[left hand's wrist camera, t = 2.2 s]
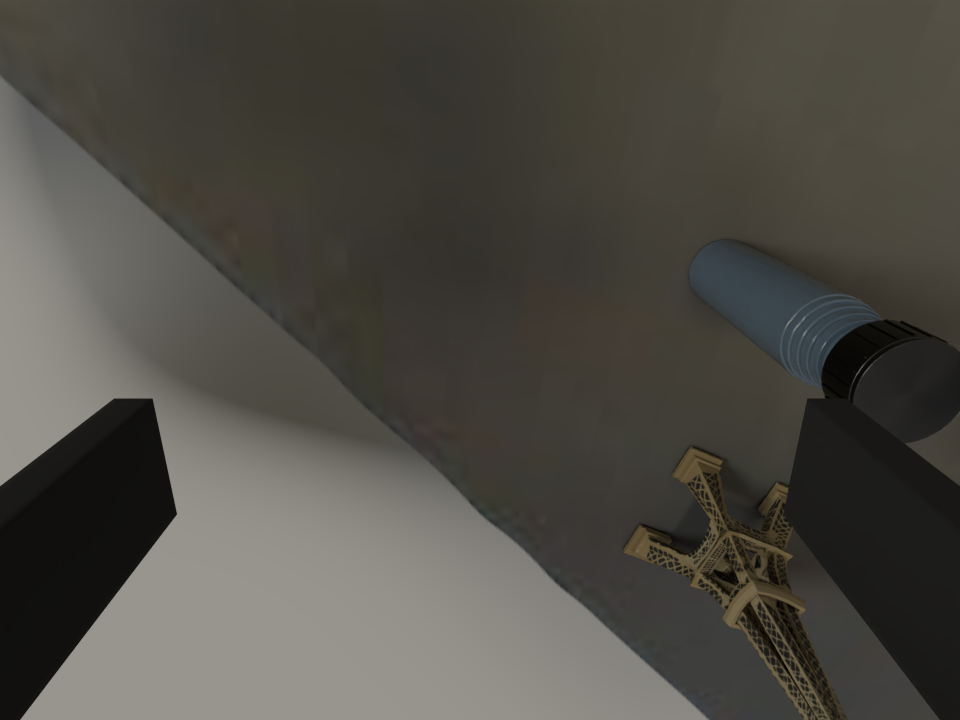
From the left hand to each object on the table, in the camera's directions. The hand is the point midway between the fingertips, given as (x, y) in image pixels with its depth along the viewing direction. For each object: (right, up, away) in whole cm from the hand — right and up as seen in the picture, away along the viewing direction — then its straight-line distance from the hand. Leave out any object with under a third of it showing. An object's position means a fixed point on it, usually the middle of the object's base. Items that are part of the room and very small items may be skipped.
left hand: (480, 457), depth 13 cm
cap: (+17, +1, +11) cm, 20 cm away
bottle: (+17, +8, +30) cm, 35 cm away
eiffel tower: (+19, -11, +37) cm, 43 cm away
